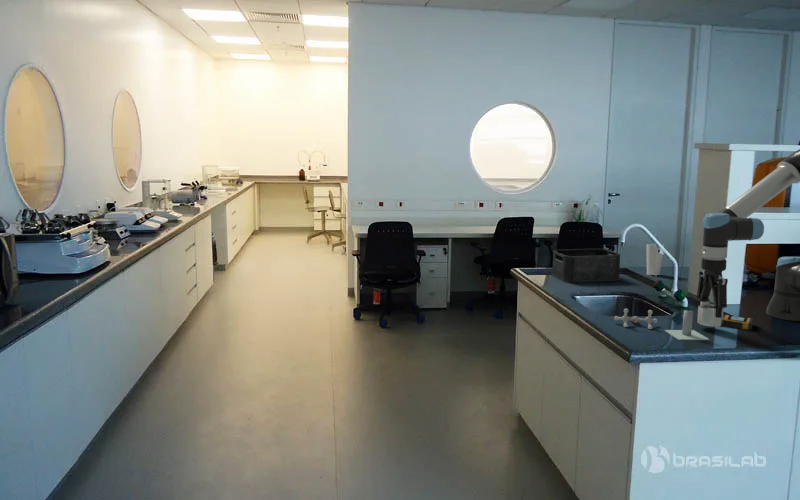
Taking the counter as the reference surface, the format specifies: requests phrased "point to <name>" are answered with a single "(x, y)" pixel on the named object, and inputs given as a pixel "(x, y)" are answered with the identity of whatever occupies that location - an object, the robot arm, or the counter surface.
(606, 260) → the storage bin
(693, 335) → the block
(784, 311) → the robot arm
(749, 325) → the electronic device
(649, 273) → the cup
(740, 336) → the counter surface
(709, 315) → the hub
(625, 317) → the molecular model
